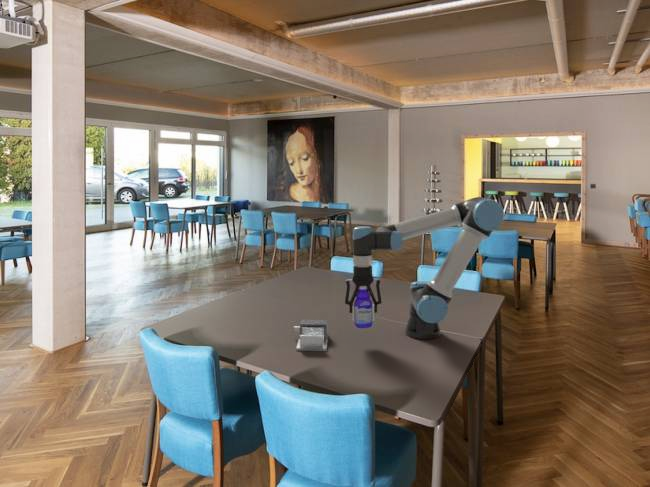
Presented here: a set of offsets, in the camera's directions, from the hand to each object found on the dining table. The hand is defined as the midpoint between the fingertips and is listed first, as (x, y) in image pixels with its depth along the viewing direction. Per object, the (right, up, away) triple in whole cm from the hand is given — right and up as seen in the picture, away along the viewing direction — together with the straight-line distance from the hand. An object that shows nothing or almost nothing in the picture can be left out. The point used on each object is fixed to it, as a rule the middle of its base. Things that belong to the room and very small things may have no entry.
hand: (363, 320), depth 197 cm
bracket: (-21, -10, 0) cm, 23 cm away
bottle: (0, -3, 0) cm, 3 cm away
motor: (-22, -9, +8) cm, 25 cm away
